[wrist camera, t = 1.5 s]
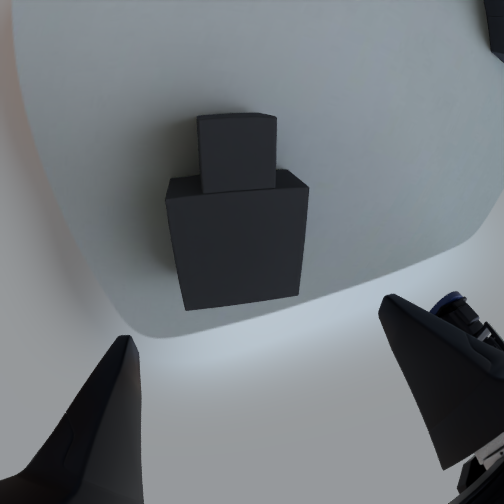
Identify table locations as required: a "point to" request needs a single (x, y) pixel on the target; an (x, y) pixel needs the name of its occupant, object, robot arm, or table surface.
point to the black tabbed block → (237, 216)
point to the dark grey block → (496, 26)
